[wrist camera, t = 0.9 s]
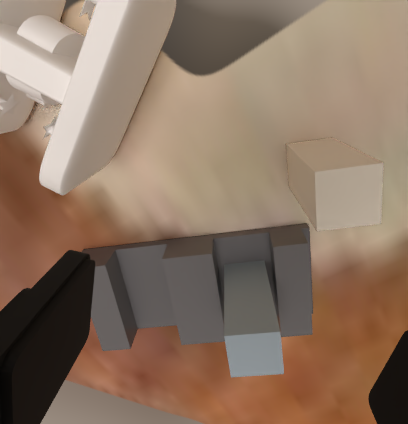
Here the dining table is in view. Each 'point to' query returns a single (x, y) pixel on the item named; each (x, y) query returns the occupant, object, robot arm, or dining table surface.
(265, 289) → the slate plug
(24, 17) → the cable organizer
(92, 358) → the dining table surface
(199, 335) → the grey blocky pieces
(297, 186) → the cream plug
